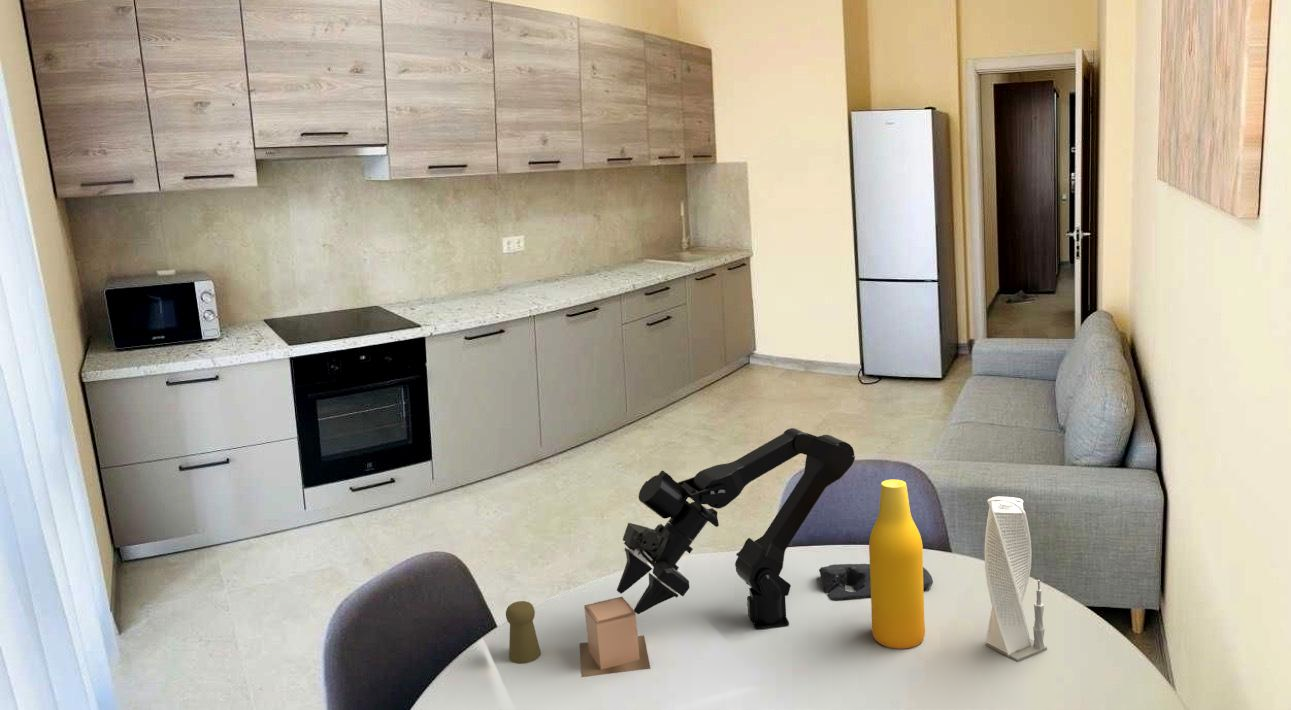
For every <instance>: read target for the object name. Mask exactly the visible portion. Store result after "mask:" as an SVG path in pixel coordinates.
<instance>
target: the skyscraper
mask: <svg viewBox="0 0 1291 710" xmlns="http://www.w3.org/2000/svg"><path fill="white" fill-rule="evenodd" d="M986 501H987V505H988V513H987V514H988V515H987V521H986V527H985V535H984V536H985V537H984V538H985V539H984V569H985V570H984V571H985V577H986V584H987V588H988V589H987V590H988V594H989V595H988V596H989V598H990V604H991V611H990V615H989V616H990V617H989V621H988V627H987V633H986V639H985V646H986V647H988V648H991V649H992V650H995V651H997V652H998V653H1000V654H1003V655H1004V656H1006V657H1008V658H1009V659H1012V660H1013V661H1016V662H1017V663H1018V662H1021V661H1024V660H1026V659H1028V658H1031V657H1033V656H1035V655H1038V654H1040V653H1042V652H1044V651H1046V650H1048V647H1047V646H1046V645H1045V643H1044V639H1045V631H1046V630H1045V629H1046V628H1045V627H1044V622H1043V620H1044V619H1043V618H1044V611H1045V610H1044V607H1045V605H1044V603H1043V602H1042V589H1041V580H1040V579H1038V580H1037V588H1036V590H1035V591H1036V602H1034V603H1033V608H1034V609H1033V610H1034V624H1033V625H1034V626H1033V627H1032V629H1033V639H1034V640H1033V639H1031V637H1030V633H1029V628H1028V625H1027V621H1026V617H1025V616H1026V615H1025V614H1024V609H1023V606H1022V605H1023V601H1024V598H1025V595H1026V592H1027V588H1028V585H1029V580H1030V576H1031V568H1032V559H1033V558H1032V541H1031V540H1032V539H1031V533H1030V528H1029V523H1028V517H1027V513H1026V511H1025V510H1024V500H1023V499H1022V498H1019V497H1013V496H992V497H990V498H989V499H987V500H986Z"/></svg>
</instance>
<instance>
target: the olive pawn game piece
mask: <svg viewBox="0 0 1291 710" xmlns="http://www.w3.org/2000/svg"><path fill="white" fill-rule="evenodd" d="M535 615H536V611H535V607H534V605H533V604H532V603H531V602H530V601H525V600H519V601H516V602H515V601H514V602H512V603H510V604H509V605H508V606H507V607H506V610H505V618H506V621H507V623H508V624H509V647H508V658H509V661H511V663H515V664H521V665H522V664H529V663H532V662H535V661H536V660H538V659H539V658H540V657H541V655H542V652H541V648H540V644H539V641H538V636H537V633H536V629H535V624H534V619H535Z"/></svg>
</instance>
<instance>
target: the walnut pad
mask: <svg viewBox="0 0 1291 710" xmlns="http://www.w3.org/2000/svg"><path fill="white" fill-rule="evenodd" d="M638 646H639V658H640V660H636V661H632V662H628V663H624V664H621V665H617V666H613V667H609V668H606V669H602V670H601V669H600V667H599V666H598V664H597V663H596V661H595V660H594V658H593V657H592V655H591V654H590V652H589V648H588V641H587V642H581V643H580V642H579V655H580V656H579V657H580V672H581V678H583V677H584V678H585V677H586V678H587V677H593V676H602V675H603V676H604V675H610V674H617V673H627V672H633V671H643V670H649V669H651V665H650V664H651V663H650V660H649V659H650V658H649V654H648V649H647V648H648V647H647V643H646V640H645V635H638Z"/></svg>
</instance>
